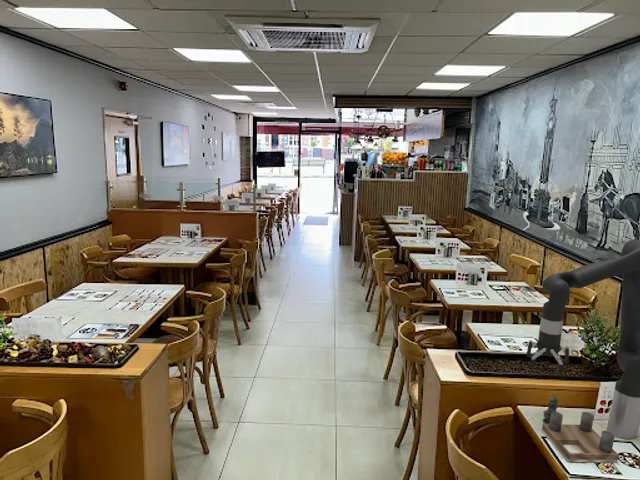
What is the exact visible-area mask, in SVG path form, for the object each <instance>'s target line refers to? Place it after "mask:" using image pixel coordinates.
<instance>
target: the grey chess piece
mask: <svg viewBox="0 0 640 480" xmlns="http://www.w3.org/2000/svg"><path fill="white" fill-rule="evenodd" d="M558 403H559V399H558V397H557V396H556V394H553V395H552V396H550V398H549V401H548V403H547V405H548V408H547V409H546V410H543V412H542V413H543V417H544V418H543V419H542V422H543V424H549V423H550V417H551V412H553V411H555V412H557V409H558Z"/></svg>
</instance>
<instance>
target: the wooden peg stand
mask: <svg viewBox="0 0 640 480" xmlns="http://www.w3.org/2000/svg"><path fill="white" fill-rule="evenodd" d="M563 417H564V415H563V414H562V413H561V412H558V411H556V412H555V411H553V412H551V417H550V423H549V424H545V423H543V424H542V426H541V432H542V434H544V436H545V437H546V438H547V439H548V440H549V442H550V443H551V444H552V446H553V447H554V448H555V449H556V450H557V452H559V453H561V454H560V455H561V456H562V457H563V458H564V459H565V461H566V462H567V463H615V464H616V463H618V461H619V458H620V457H619V455H620V454H618V452H617V451H616V450H614V449H613V446H614V442H615V437H616V436H615V435H614V434H613V433H611V432H609V431H608V430H602V431H601V434H600V435H599V434H598V433H597V432H596V430H594V429H593V423H594V420H595V419H594V418H595V415H594V414H592V413H590V412H589V411H588V412H587V411H582V413H581V417H580V421H579V424H569V423H568V424H567V423H566V424H563Z"/></svg>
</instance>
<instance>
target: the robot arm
mask: <svg viewBox="0 0 640 480" xmlns="http://www.w3.org/2000/svg"><path fill="white" fill-rule="evenodd" d="M621 275H622V285H621V286H622V288H621V289H622V291H621V303H620V304H621V306H620V307H621V308H620V331H619V332H620V335H619V343H618V348H617V351H616V352H617V353H616V362H617V365H618V366H619V368H620V369H621V370H622V371H623V375H622V379H618V380H617V381H615V385H614V389H613V390H614V391H613V396H612V400H611V406H610V410H609V416H608V421H607V425H606V430H607V431H609V432H611V433H613V434H614V435H615V437H618V438H620V439H626V440H632V439H634V438H636V437H638V435H639V431H640V430H639V429H640V239H635V238H634V239H629V240H628V241H626V242H625V243H624V244H623V246H622V249H621V256H620V257H619V256H618V257H617V258H612V259H608V260H602V261H597V262H596V261H595V262H591V263H587V264H585V265H583V266H580V267H577V268H575V269H572V270H569V271H563V272H557V273H555V274H551V275H549V276H547V277H545V278H544V280H543V281H542V284H541V286H542V289H543V292H544V293H547V295H549V298H548V300H547V301H545V302H544V303H543V306H542V312H541V319H540V324H539V331H538V338H537V342H535V341H532V340H531V339H530V340H529V341H528V346H527V351H526V357H527V358H530V359H531V360H530V367H531V368H532V369H533V370H534V369H535V366H536V359H537V358H538V357H540V356H541V355H542V356H545V357H546V356H547V357H549V358H553V357H554V358H555V360H556V361H557V367H556V368H557V369H556V373H557V374H560V373H562V371H563V370H562V369H563V365H568V364H569V360H570V347H569V346H565V347H564V346H561V342H562V334H563V333H562V332H563V328H564V327H563V325H564V324H563V321H564V312H565V311H564V309H565V308H566V306H567V304H568V301H569V298H570V295H571V289H574V288H575V289H582V288H585V287H588V286H591V285H593V284H596V283H598V282H601V281H604V280H607V279H610V278H613V277H616V276H621ZM534 347H536V348H537V350H535V352H533V353H532V348H533V349H534ZM561 351H562V353H563V354H564V358H562V357H561V356H560V354H559V353H560V352H561Z"/></svg>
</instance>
